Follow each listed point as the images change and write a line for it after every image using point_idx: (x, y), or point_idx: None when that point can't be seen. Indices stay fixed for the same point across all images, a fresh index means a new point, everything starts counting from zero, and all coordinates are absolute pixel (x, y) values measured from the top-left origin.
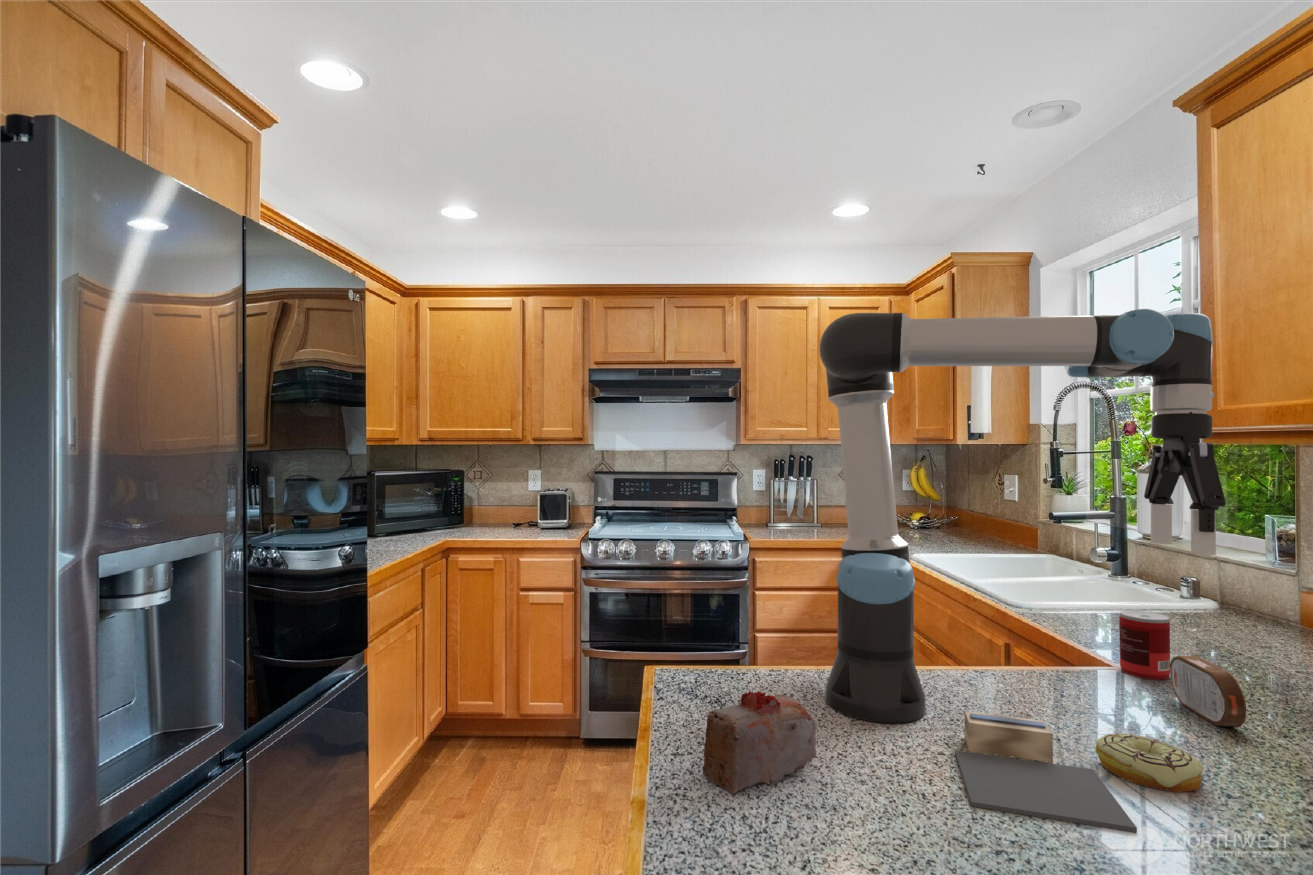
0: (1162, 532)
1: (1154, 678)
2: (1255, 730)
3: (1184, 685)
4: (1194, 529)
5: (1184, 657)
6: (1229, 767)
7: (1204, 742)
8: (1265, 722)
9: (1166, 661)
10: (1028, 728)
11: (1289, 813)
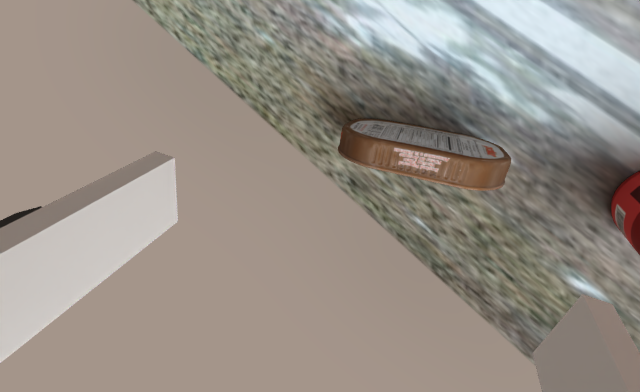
0: (576, 384)
1: (615, 191)
2: None
3: (460, 143)
4: (57, 205)
5: (460, 161)
6: (246, 26)
7: (320, 53)
8: (398, 199)
9: (623, 230)
10: None
11: (150, 5)
